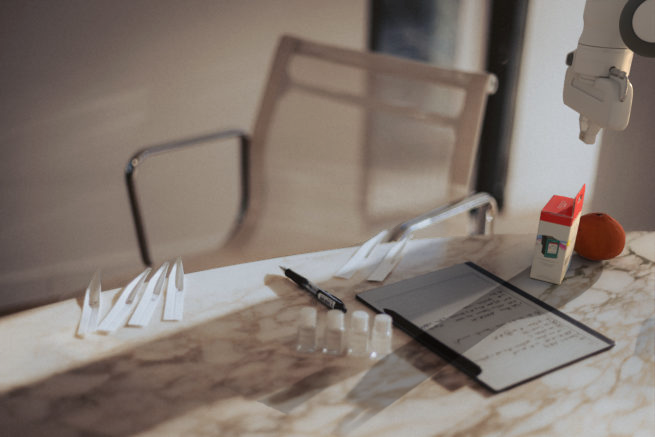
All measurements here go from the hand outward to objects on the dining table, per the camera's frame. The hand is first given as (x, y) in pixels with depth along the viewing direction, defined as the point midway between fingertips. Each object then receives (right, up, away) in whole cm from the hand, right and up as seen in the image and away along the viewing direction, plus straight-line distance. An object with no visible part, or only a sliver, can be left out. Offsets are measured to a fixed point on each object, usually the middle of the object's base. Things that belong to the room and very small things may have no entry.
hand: (586, 142), depth 110 cm
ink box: (-9, -22, -8) cm, 26 cm away
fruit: (0, -20, -3) cm, 20 cm away
